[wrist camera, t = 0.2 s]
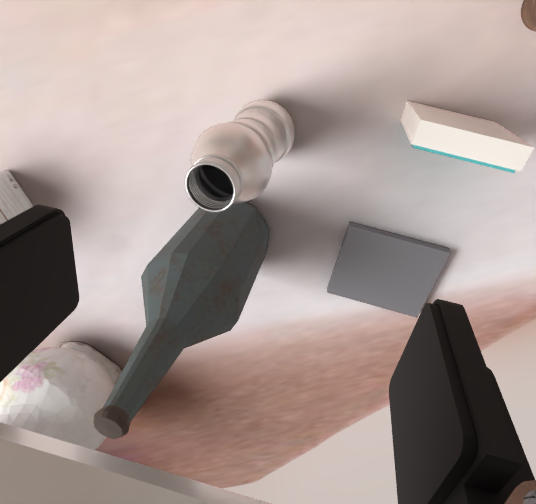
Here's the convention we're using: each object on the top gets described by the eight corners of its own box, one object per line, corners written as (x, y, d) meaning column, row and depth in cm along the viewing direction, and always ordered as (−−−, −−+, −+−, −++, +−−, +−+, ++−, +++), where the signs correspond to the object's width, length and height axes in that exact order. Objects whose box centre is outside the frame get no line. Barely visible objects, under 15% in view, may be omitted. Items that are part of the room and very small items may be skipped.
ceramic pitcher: (90, 411, 80) (4, 555, 59) (8, 353, 73) (-122, 492, 52) (158, 374, 70) (83, 531, 49) (70, 303, 64) (-59, 451, 43)
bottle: (187, 243, 54) (30, 437, 28) (207, 181, 49) (39, 349, 23) (255, 274, 54) (162, 495, 28) (283, 216, 49) (200, 420, 23)
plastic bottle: (278, 167, 46) (231, 248, 29) (229, 135, 45) (150, 198, 28) (309, 119, 43) (276, 178, 25) (256, 83, 42) (186, 119, 25)
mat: (349, 221, 47) (349, 226, 46) (448, 248, 46) (450, 253, 45) (327, 287, 53) (326, 292, 51) (415, 311, 52) (417, 317, 51)
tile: (407, 100, 40) (420, 119, 31) (496, 122, 39) (534, 147, 31) (399, 123, 41) (409, 147, 32) (485, 144, 40) (519, 175, 32)
